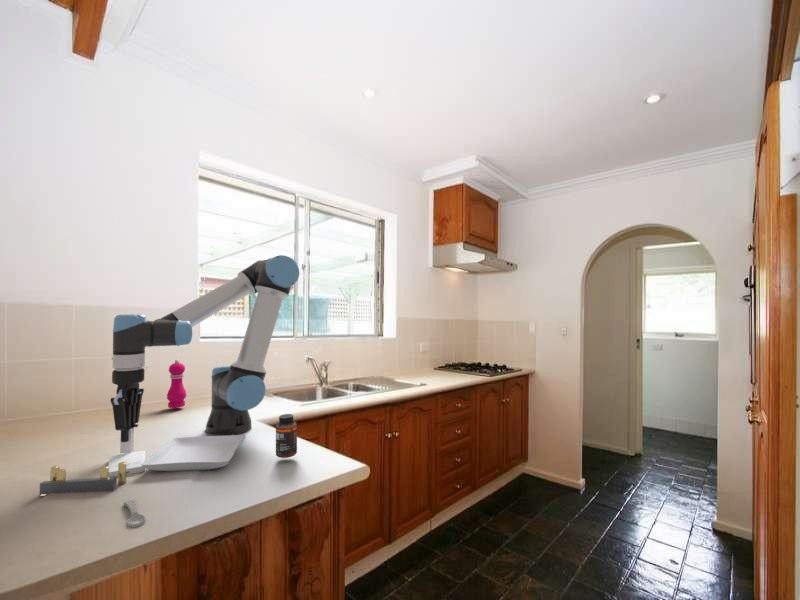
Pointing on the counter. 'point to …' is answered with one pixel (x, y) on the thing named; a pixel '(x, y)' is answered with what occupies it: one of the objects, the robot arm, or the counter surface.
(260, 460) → the counter surface
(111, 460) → the external hard drive
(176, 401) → the pepper mill
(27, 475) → the counter surface
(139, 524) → the spoon
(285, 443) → the supplement bottle
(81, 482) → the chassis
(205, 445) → the salad plate
